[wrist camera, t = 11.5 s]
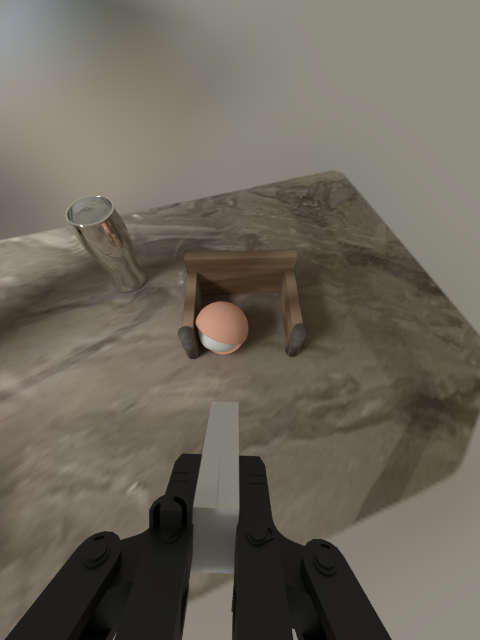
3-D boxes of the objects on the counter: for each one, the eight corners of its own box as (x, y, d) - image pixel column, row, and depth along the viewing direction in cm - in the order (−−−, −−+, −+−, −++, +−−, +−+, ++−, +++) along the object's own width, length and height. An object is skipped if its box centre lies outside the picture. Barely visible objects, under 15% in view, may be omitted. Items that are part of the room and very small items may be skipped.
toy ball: (189, 343, 42) (179, 317, 35) (219, 310, 45) (215, 281, 38) (228, 371, 40) (225, 351, 33) (257, 335, 43) (260, 309, 36)
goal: (299, 356, 41) (312, 329, 33) (186, 359, 41) (173, 332, 33) (288, 285, 48) (297, 249, 40) (192, 288, 48) (183, 252, 40)
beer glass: (117, 264, 51) (75, 192, 38) (153, 266, 50) (122, 194, 37) (105, 293, 47) (53, 225, 34) (143, 295, 47) (105, 228, 34)
